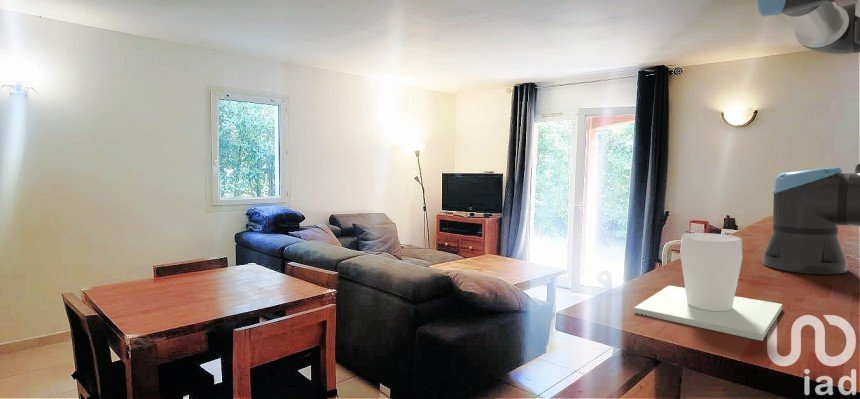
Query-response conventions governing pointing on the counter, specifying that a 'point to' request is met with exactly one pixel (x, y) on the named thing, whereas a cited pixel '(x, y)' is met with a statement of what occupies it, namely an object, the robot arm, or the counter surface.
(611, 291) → the counter surface
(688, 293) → the cup
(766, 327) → the sage board
